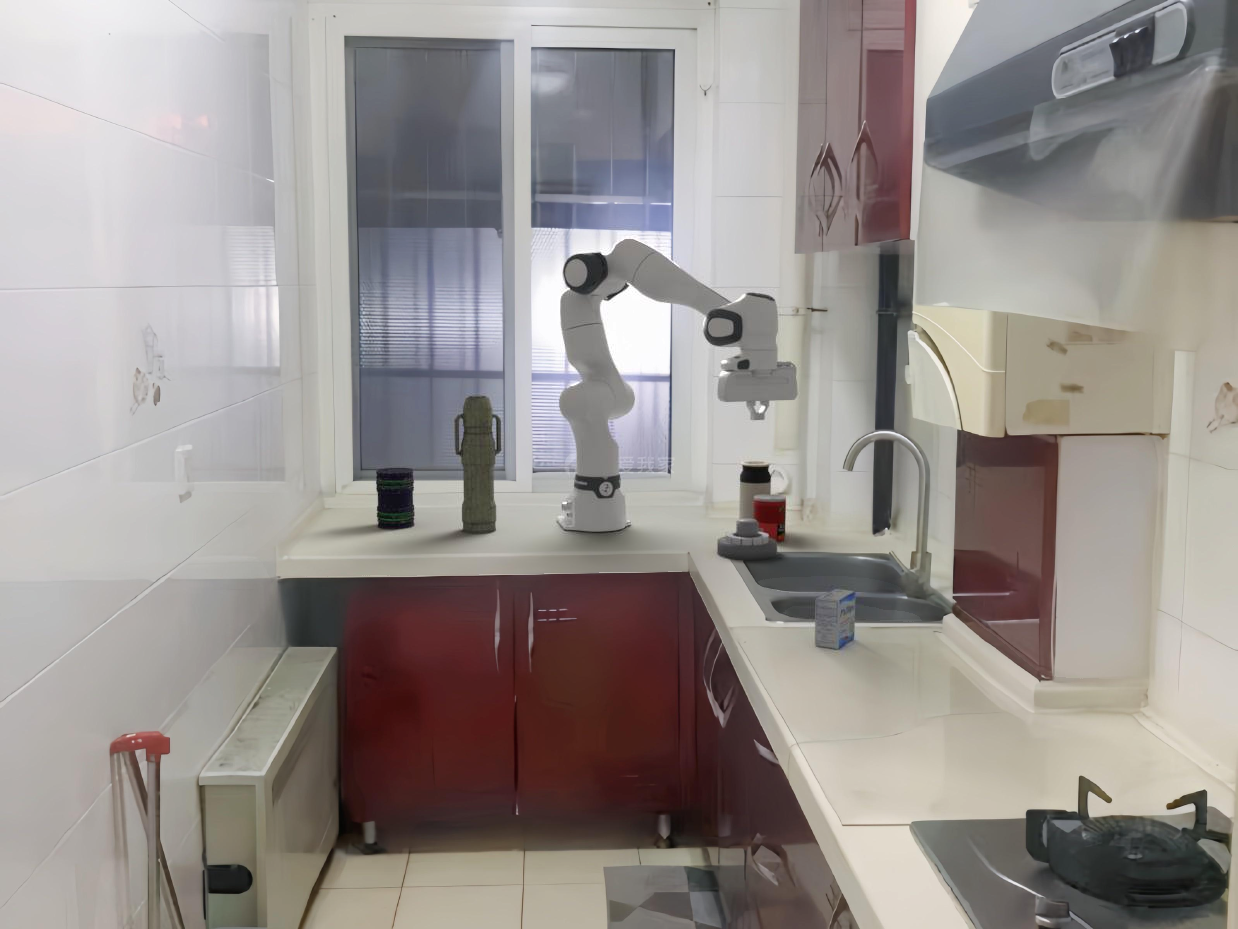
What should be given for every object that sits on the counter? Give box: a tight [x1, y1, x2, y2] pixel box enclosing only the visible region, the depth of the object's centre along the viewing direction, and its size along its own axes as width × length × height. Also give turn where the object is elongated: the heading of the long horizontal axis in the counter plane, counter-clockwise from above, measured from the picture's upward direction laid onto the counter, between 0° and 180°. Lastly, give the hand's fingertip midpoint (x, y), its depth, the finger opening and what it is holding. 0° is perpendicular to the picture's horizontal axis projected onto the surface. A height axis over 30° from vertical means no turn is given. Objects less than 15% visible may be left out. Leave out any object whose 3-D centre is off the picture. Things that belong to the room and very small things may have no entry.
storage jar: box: [375, 467, 415, 530], centre depth 299 cm, size 10×10×15 cm
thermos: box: [454, 395, 502, 534], centre depth 292 cm, size 9×12×35 cm
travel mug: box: [738, 460, 772, 520], centre depth 292 cm, size 8×8×18 cm
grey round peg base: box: [716, 530, 778, 561], centre depth 267 cm, size 14×14×4 cm
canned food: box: [754, 493, 787, 543], centre depth 282 cm, size 8×8×11 cm
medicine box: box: [814, 588, 856, 651], centre depth 195 cm, size 8×4×9 cm, turn 148°
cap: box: [735, 519, 759, 538], centre depth 266 cm, size 5×5×5 cm
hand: (757, 420), depth 269 cm, fingers closed
